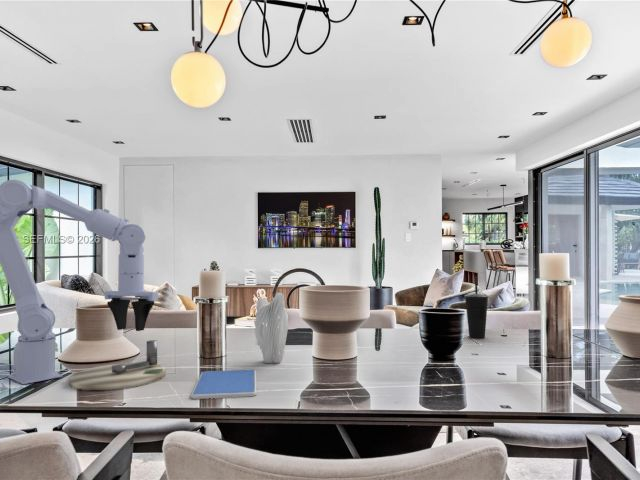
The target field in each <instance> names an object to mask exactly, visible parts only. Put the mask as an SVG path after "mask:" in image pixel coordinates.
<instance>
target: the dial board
mask: <svg viewBox="0 0 640 480" xmlns="http://www.w3.org/2000/svg"><path fill="white" fill-rule="evenodd" d="M131 363H132V362H126V363H121V364H131ZM116 364H117V363H115V364H107V365H106V364H105V365H99V366H95V367H90V368H86V369H83V370H80V371H77V372H74V373H72V374H71V375H70V376H69V377H68V378H67V379H68V380H67V382H68V386H69V385H70V386H71V388H72V387H73V388H72V389H75V388H77V389H76V390H79V389H82V391H89V390H105V391H114V390H113V389H118V390H123V389H122V388H126V389H131V388H130V387H132V388H136V386H138V387H141V386H140V385H142V386H145V385H144V384H146V385H149V384H148V383H150V384H152V383H151V382H153V383H155V382H154V381H156V380H158V379H160V378H162V377H163V376H166V375H165V374H167V369H166V367H165V366H164V365H161V364H157V365H152V366H145V367H140V368H135V369H130V370H126V371H124V372H119V373H113V372H112V366H113V365H116ZM163 378H164V377H163ZM163 378H162V379H163ZM160 380H161V379H160ZM158 381H159V380H158ZM156 382H157V381H156ZM70 386H69V387H70Z"/></svg>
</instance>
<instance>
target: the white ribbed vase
mask: <svg viewBox="0 0 640 480" xmlns="http://www.w3.org/2000/svg"><path fill="white" fill-rule="evenodd" d="M254 327H255V328H254V334H255V338H256V339H257V343H258V345H259V349H260V350H261V351H260V352H261V354H262V359H263V362H264V363H266V364H279V363H282V362H283V359H284V356H285V349H286V348H285V347H286V342H287V335H288V331H289V330H288V329H289V315H288V312H287V308H286V307H285V295H284V293H282V292H276V293H275V295H274V297H273V298H272V301H270V302H269V301H268V300H267V299H266V298H263V297H258V300H257V301H256V312H255V320H254Z"/></svg>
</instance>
